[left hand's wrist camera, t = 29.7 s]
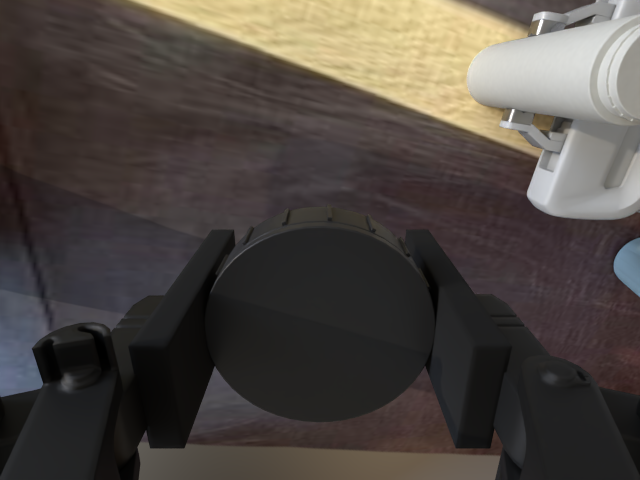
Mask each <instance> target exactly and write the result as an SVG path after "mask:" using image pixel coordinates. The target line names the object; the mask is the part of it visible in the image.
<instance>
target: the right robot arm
mask: <svg viewBox="0 0 640 480" xmlns="http://www.w3.org/2000/svg"><path fill="white" fill-rule="evenodd" d="M638 14H640V0H596V3H593V4H590V5H586V6H582V7H580V8H577V9H575V10H572V11H570V12H567V13H565V14H558V13H553V12H540V13H537V14H534V17H533V20H532V23H531V26H530V30H529V33H528V37H532V36H537V35H542V34H547V33H551V32H556V31H561V30H564V28H565V26H567V25H569V24H572V23H574V22H576V24H575V27H580V26H585V25H590V24H595V23H600V22H604V21H609V20H614V19H619V18H624V17H628V16H633V15H638ZM534 115H535V113H531V112H524V111H520V110H516V109H510V108H505V110H504V113H503V116H502V119H501V122H500V125H499V126H500V127H504V128H508V129H513V130H518V132H519V133H520V134H521V135H522V136H523V137H524V138H525V139H526V140H527V141H528V142H529V143H530V144H531V145H532V146H535V147H538V148H541V149H543V150H542V152H541V155H540V158H539V161H538V164H537V166H536V169H535V172H534V175H533V178H532V180H531V183H530V186H529V188H528V191H527V197H528V199H529V200H530V202H531V203H532V204H533V205H534V206H535V207H536V208H538V209H539V210H541V211H543V212H545V213H547V214H550V215H553V216H557V217H564V218H573V219H588V220H614V219H620V218H624V217H627V216H630V215H632V214H634V213H635V212H638V213H640V125H635V126H618V125H611V124H605V123H598V122H591V121H585V120H578V119H571V118H565V117H558V116H554V119H553V122H552V125H551V128H550V130H549V131H547V130H541V129H540V130H538V129H537V128H536V127H535V126H534V125H533V124H532V121H533V118H534Z"/></svg>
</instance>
